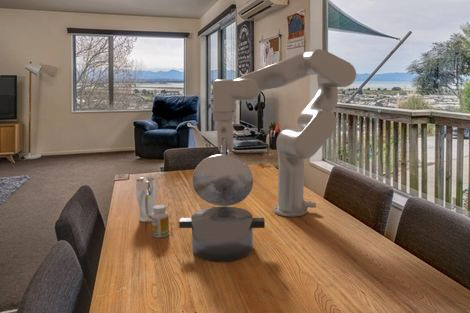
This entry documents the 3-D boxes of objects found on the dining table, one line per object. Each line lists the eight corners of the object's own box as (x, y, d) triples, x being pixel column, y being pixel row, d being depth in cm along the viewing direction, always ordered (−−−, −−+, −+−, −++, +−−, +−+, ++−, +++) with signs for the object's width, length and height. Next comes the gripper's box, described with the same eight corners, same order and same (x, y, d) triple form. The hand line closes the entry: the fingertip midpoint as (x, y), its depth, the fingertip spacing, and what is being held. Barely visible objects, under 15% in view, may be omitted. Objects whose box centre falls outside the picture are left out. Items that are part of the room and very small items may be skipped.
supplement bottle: (170, 231, 125) (168, 203, 123) (168, 237, 120) (166, 209, 118) (154, 231, 125) (152, 204, 123) (151, 238, 120) (149, 209, 118)
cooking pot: (262, 235, 120) (263, 206, 118) (265, 262, 103) (265, 228, 101) (186, 235, 121) (184, 206, 119) (175, 262, 104) (174, 228, 102)
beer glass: (138, 223, 132) (135, 182, 129) (137, 217, 139) (135, 178, 136) (158, 221, 134) (155, 181, 131) (156, 214, 141) (154, 176, 138)
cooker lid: (252, 205, 119) (252, 199, 121) (253, 156, 109) (252, 150, 112) (194, 206, 119) (196, 199, 122) (189, 156, 110) (191, 151, 112)
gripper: (234, 118, 118) (235, 174, 122) (236, 114, 133) (236, 164, 137) (211, 119, 119) (212, 174, 122) (215, 114, 133) (216, 164, 137)
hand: (225, 169), depth 129 cm, fingers closed
